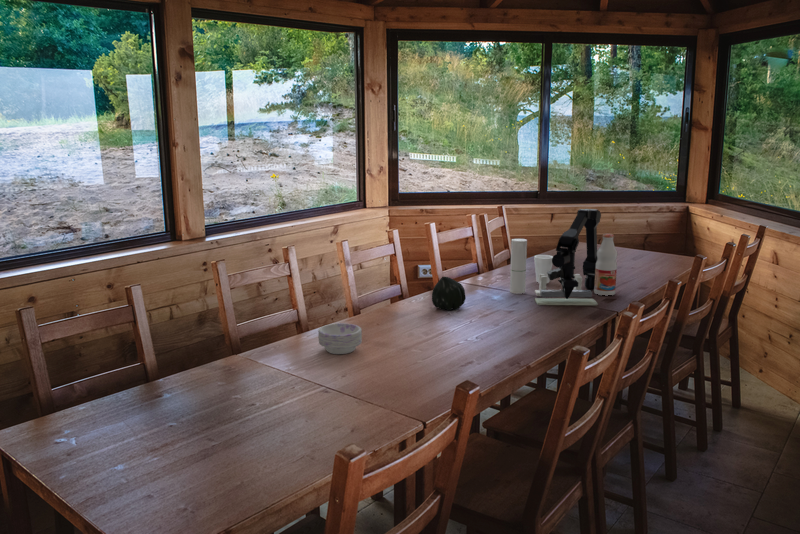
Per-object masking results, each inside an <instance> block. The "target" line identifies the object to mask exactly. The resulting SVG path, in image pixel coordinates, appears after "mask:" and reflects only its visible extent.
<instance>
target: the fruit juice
mask: <svg viewBox="0 0 800 534" xmlns="http://www.w3.org/2000/svg"><path fill="white" fill-rule="evenodd" d="M614 238H615V235H614V234H613V233H603V234H602V241H601V244H600V246H599V247H598V248H597V262H596V268H595V285H594V289H593V292H594V294H595V295H597V294H598V296H602V295H605V296H604V297H609V296H608V295H612V296H615V294H616V288H617V287H616V285H617V272H618V262H617V258H618V251H617V249H616V246H615V243H614Z"/></svg>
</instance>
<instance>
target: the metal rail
mask: <svg viewBox="0 0 800 534" xmlns="http://www.w3.org/2000/svg"><path fill="white" fill-rule="evenodd" d="M539 297H540V298H565V292H564V290H563V289H546V290H540V296H539ZM569 298H593V291H592V289H581V290H574V289H573V290H572V292H571V294H570V296H569Z"/></svg>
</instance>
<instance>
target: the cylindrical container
mask: <svg viewBox="0 0 800 534" xmlns="http://www.w3.org/2000/svg"><path fill="white" fill-rule="evenodd" d="M510 244H511V245H510V246H511V247H510V250H511V251H510V275H509V276H510V280H509V292H510V294H515V295H516V294H517V295H521V294H522V293H523V294H525V293H526V281H527V278H526V277H527V255H528V254H527V252H528V250H527V249H528V239H525V238H511V242H510ZM523 294H522V295H523Z"/></svg>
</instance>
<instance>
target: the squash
mask: <svg viewBox="0 0 800 534" xmlns="http://www.w3.org/2000/svg"><path fill="white" fill-rule="evenodd" d="M466 298H467V297H466V290H465V288H464V286H463V284H462V283H460V282H459V281H456V280H455V279H454V278H453V279H452V278H451V277H449V276H441V278H440V279H439V281H438V282H437V283H436V284H434V287H433V289H432V292H431V302H432V305H433V306H434V307H435V308H437V309H440V310H442V311H443V310H447V311H452V310H453V311H454V310H459V308H460V307H461V306H464V304H465V301H466Z"/></svg>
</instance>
